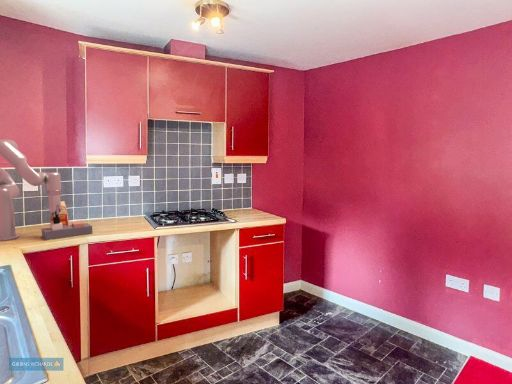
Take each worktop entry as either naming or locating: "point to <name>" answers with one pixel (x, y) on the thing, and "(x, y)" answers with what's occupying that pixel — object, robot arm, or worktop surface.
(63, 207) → the milk carton
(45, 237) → the key block
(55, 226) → the ivory key
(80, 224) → the terracotta key
